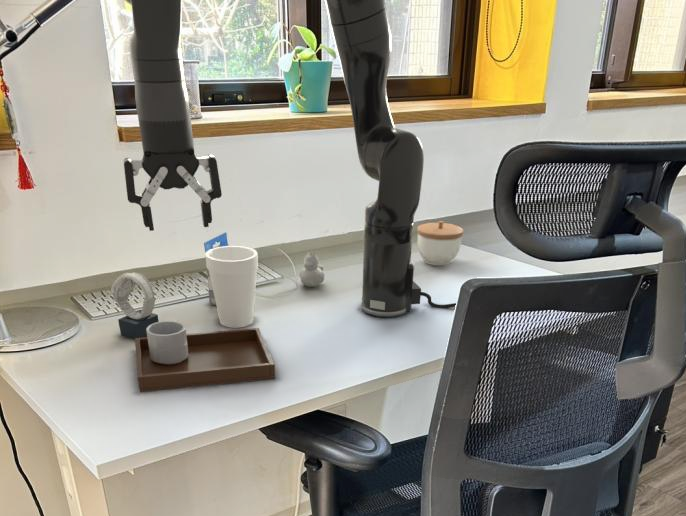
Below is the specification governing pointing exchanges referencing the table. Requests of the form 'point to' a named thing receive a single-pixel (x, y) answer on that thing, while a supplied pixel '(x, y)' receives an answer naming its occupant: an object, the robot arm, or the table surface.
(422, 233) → the trinket box
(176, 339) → the grey cup
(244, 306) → the foam cup
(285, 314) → the table surface
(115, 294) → the ring sculpture on stand
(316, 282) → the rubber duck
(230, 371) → the tray
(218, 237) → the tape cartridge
